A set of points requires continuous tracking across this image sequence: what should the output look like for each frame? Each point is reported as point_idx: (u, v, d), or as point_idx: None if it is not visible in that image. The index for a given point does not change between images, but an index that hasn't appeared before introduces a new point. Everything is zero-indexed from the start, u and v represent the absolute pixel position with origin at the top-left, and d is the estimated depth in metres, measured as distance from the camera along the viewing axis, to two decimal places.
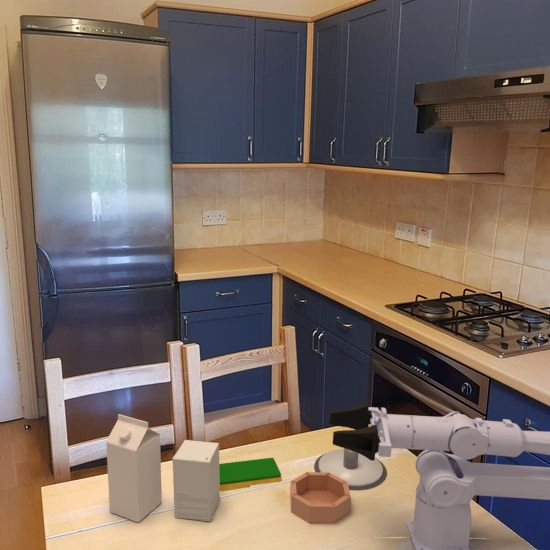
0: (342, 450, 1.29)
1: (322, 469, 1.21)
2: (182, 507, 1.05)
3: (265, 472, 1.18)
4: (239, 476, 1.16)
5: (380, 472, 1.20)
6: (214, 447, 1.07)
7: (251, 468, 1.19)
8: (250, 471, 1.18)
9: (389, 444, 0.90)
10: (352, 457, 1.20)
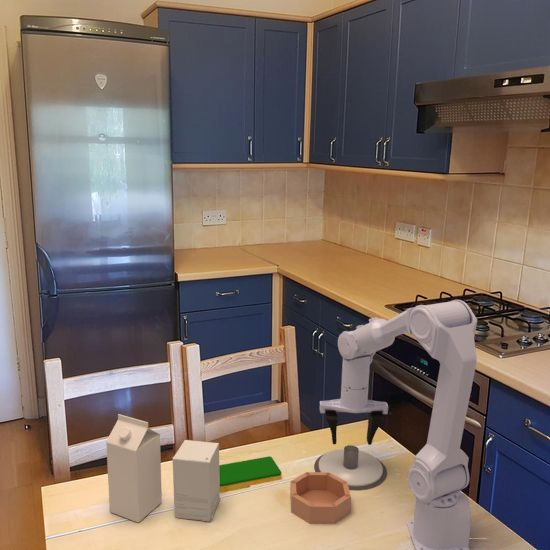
0: (342, 450, 1.29)
1: (322, 469, 1.21)
2: (182, 507, 1.05)
3: (265, 471, 1.18)
4: (240, 476, 1.16)
5: (380, 472, 1.20)
6: (214, 447, 1.07)
7: (251, 468, 1.19)
8: (250, 471, 1.18)
9: None
10: (352, 457, 1.20)
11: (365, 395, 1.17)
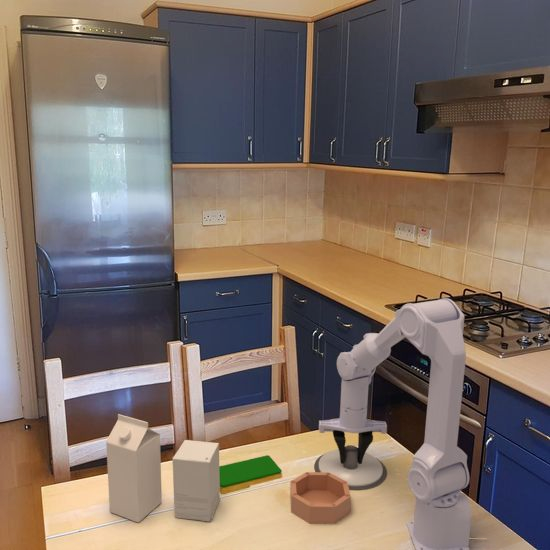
0: None
1: (322, 469, 1.21)
2: (182, 507, 1.05)
3: (266, 470, 1.18)
4: (241, 476, 1.16)
5: (380, 472, 1.20)
6: (214, 447, 1.07)
7: (251, 467, 1.19)
8: (251, 471, 1.18)
9: (320, 421, 1.21)
10: (352, 457, 1.20)
11: (364, 415, 1.18)
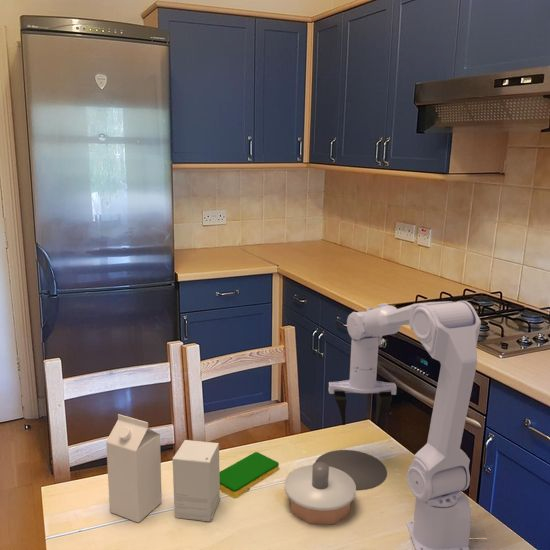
0: (313, 466, 1.15)
1: (287, 489, 1.07)
2: (182, 507, 1.05)
3: (265, 466, 1.20)
4: (247, 477, 1.16)
5: (352, 493, 1.06)
6: (214, 447, 1.07)
7: (249, 466, 1.20)
8: (251, 469, 1.19)
9: None
10: (321, 475, 1.07)
11: (374, 375, 1.18)
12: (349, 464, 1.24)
